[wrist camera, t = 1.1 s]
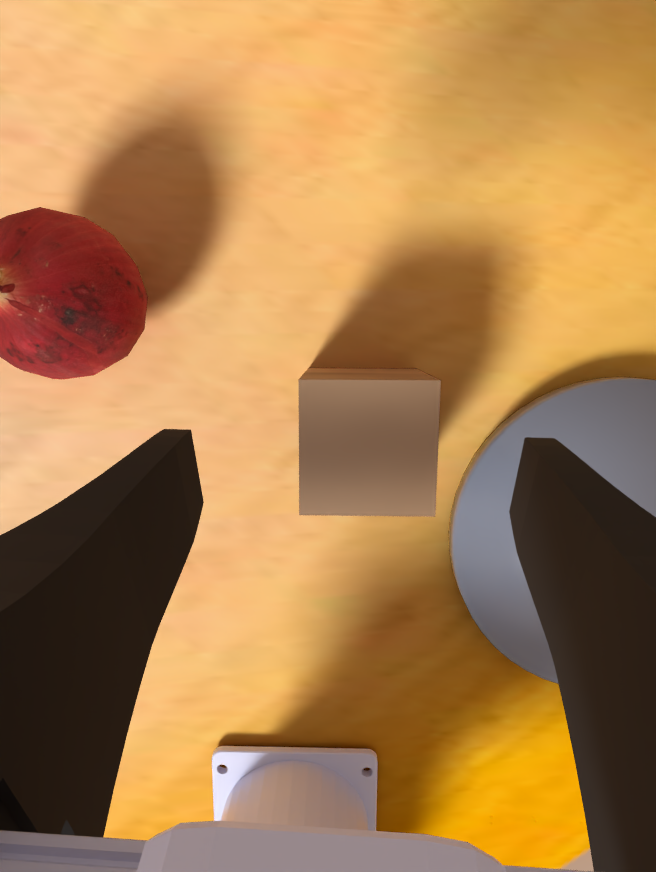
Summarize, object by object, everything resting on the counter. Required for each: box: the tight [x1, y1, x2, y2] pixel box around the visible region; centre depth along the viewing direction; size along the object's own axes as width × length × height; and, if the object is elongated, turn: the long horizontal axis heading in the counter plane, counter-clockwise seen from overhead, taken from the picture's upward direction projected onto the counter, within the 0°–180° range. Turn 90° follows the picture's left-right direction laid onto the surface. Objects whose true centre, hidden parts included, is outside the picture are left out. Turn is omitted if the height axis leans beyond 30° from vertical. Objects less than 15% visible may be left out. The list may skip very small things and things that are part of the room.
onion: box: [0, 207, 148, 379], centre depth 20 cm, size 6×6×8 cm
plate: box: [449, 377, 656, 684], centre depth 24 cm, size 14×14×1 cm
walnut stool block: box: [299, 368, 441, 517], centre depth 21 cm, size 5×5×6 cm
